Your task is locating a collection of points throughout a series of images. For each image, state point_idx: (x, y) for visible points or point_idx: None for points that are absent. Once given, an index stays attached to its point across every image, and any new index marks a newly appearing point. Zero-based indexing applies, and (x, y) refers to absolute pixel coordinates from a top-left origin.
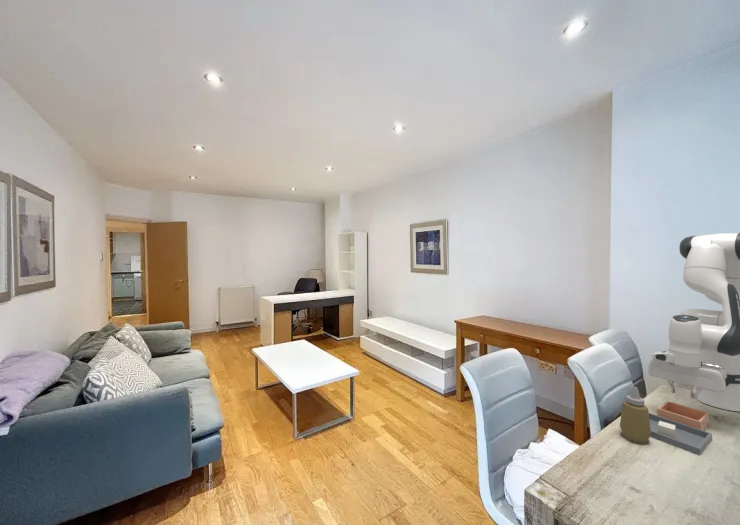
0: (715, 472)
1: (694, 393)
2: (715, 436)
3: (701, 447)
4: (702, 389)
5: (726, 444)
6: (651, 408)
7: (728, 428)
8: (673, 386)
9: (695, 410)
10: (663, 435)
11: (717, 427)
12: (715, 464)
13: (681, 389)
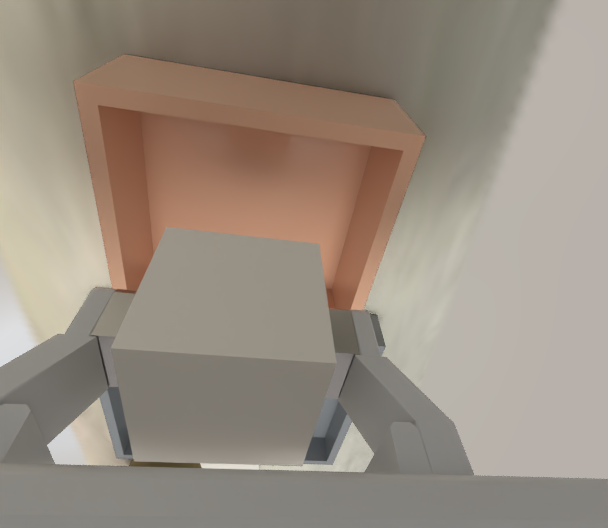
0: (359, 464)
1: (340, 373)
2: (400, 252)
3: (337, 450)
4: (454, 446)
5: (427, 302)
6: (10, 67)
7: (518, 34)
8: (78, 365)
9: (326, 134)
10: None
11: (443, 87)
12: (364, 439)
13: (209, 453)
